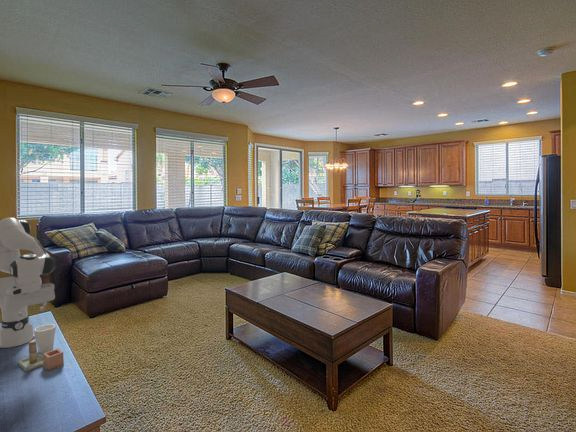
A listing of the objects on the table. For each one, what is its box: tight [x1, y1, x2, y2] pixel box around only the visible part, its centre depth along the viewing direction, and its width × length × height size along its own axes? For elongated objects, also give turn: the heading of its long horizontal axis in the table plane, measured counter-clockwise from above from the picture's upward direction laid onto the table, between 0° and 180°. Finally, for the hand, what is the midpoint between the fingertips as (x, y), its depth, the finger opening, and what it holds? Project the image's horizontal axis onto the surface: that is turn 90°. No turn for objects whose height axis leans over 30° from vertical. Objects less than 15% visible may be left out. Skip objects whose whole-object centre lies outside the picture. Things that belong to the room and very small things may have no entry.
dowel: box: [28, 339, 38, 364], centre depth 159 cm, size 3×3×11 cm
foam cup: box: [33, 323, 57, 354], centre depth 173 cm, size 10×9×13 cm
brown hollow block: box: [42, 348, 65, 372], centre depth 158 cm, size 6×6×7 cm
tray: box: [17, 352, 44, 373], centre depth 160 cm, size 12×9×2 cm
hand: (31, 313), depth 158 cm, fingers open, 8 cm apart
